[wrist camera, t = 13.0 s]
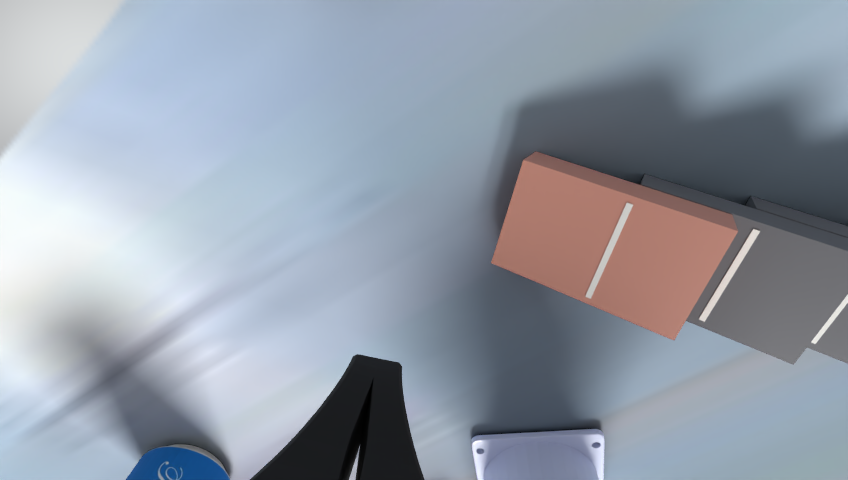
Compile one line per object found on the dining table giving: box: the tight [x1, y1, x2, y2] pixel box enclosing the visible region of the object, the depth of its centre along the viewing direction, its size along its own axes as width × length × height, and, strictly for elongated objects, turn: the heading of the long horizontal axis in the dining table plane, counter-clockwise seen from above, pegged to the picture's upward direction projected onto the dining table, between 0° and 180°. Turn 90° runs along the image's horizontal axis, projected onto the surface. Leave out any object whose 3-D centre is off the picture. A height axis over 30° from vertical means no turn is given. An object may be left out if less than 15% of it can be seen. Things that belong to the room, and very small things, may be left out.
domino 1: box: [640, 174, 848, 365], centre depth 19 cm, size 2×5×8 cm
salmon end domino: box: [491, 151, 738, 340], centre depth 19 cm, size 2×5×8 cm
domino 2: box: [745, 196, 848, 363], centre depth 19 cm, size 2×5×8 cm
